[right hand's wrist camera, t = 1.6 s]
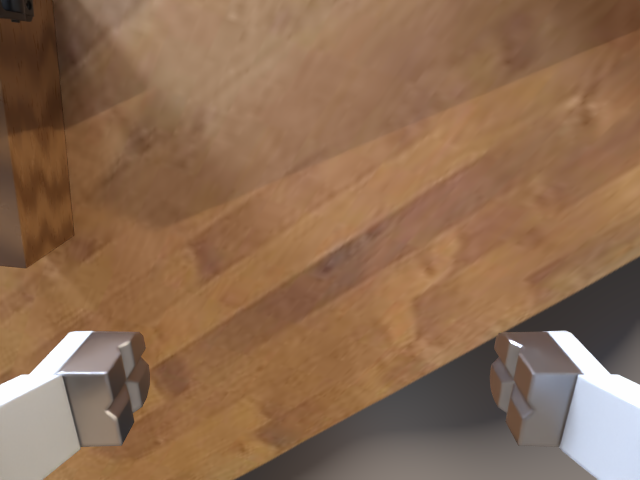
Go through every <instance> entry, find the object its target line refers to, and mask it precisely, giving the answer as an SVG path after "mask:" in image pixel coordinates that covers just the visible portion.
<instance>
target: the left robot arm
mask: <svg viewBox="0 0 640 480" xmlns="http://www.w3.org/2000/svg"><path fill="white" fill-rule="evenodd" d="M33 17H34V7H33V0H0V19H10V20H11V22H16V23H20V21H26V22H31V21H32V19H33Z"/></svg>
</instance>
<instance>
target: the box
mask: <svg viewBox="0 0 640 480" xmlns="http://www.w3.org/2000/svg"><path fill="white" fill-rule="evenodd" d="M33 7H34V17H33V19H32V21H31V22H26V21H20V23H16V22H11V20H10V19H0V266H8V267H18V268H28V267H29V266H31V265H32V264H33V263H35V262H36V261H38V260H39V259H41V258H42V257H44V256H45V255H46V254H48V253H49V252H51V251H52V250H54V249H55V248H57V247H58V246H60V245H61V244H62V243H64V242H65V241H67V240H68V239H70V238H71V237H73V236H74V229H73V218H72V207H71V196H70V186H69V175H68V164H67V153H66V142H65V131H64V121H63V110H62V99H61V88H60V77H59V67H58V56H57V45H56V34H55V23H54V12H53V2H52V0H33Z"/></svg>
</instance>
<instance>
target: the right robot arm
mask: <svg viewBox="0 0 640 480" xmlns="http://www.w3.org/2000/svg"><path fill="white" fill-rule="evenodd" d="M145 349H146V347H145V343H144V338H143V335H142V334H141V333H140V332H111V331H96V332H95V331H74V332H70V333H69V334H68V335H67V336H66V337H65V338H64V339H63V340H62V341H61V342H60V343H59V344H58V345H57V346H56V347H55V348H54V349H53V350H52V351H51V352H50V353H49V354H48V356H47V357H46V358H45V359H44V360H43V361H42V362H41V363H40V364H39V365H38V366H37V367H36V368H35V369H34V370H33V371H32V372H31V373H30V374H29V375H20V376H18V377H16V378H14V379H12V380H10V381H7V382H5V383H3V384H1V385H0V480H43V479H44V478H45V477H47V476H48V475H49V474H50V473H51V472H53V471H54V470H55V469H56V468H58V467H59V466H60V465H61V464H63V463H64V462H65V461H66V460H68V459H69V458H70V457H71V456H72V455H74V454H75V453H76V452H77V451H79V450H80V449H81V448H80V447H91V446H122V444H123V442H124V440H125V438H126V436H127V435H128V433H129V431H130V429H131V427H132V425H133V423H134V418H133V413H134V412H135V411H137V410H138V409H140V408H141V407H142V406H143V404H144V402H145V400H146V398H147V394H148V390H149V385H150V372H149V365H148V364H147V363H146V362H145V361H144V360H143V359H142V358H141V355H142V354H143V352H144V350H145ZM494 349H495V350H496V352H497V354H498V355H499V358H498V359H497V360H496V361H495V362H494V363H493V364H492V365H491V373H490V384H491V391H492V394H493V398H494V400H495V402H496V404H497V406H498V407H499V408H501V409H502V410H503V411H505V412H506V413H507V418H506V423H507V425H508V427H509V429H510V431H511V433H512V434H513V436H514V438H515V440H516V442H517V444H518V445H519V446H550V447H560V448H559V449H560V450H562V451H563V452H564V453H565V454H566V455H568V456H569V457H570V458H572V459H573V460H574V461H575V462H576V463H578V464H579V465H580V466H581V467H583V468H584V469H585V470H586V471H587V472H589V473H590V474H591V475H592V476H594V477H595V478H596V479H597V480H640V385H639V384H637V383H635V382H632V381H630V380H628V379H626V378H624V377H622V376H620V375H611V374H610V373H609V372H608V371H607V370H606V369H605V368H604V367H603V366H602V365H601V364H600V363H599V362H598V361H597V360H596V359H595V358H594V357H593V356H592V354H591V353H590V352H589V351H588V350H587V349H586V348H585V347H584V346H583V345H582V344H581V343H580V342H579V341H578V340H577V339H576V338H575V337H574V336H573V334H572V333H570V332H567V331H545V332H512V333H499V334H498V336H497V338H496V342H495V347H494Z"/></svg>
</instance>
